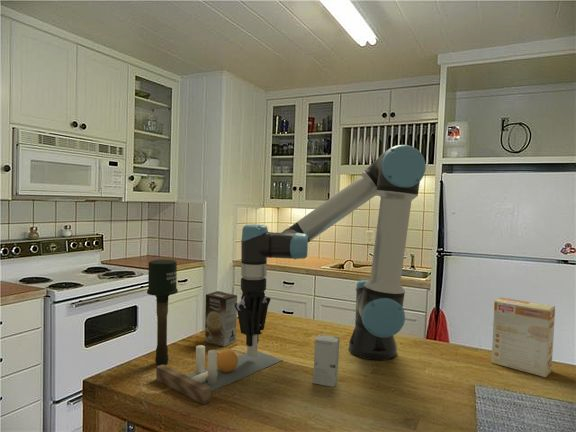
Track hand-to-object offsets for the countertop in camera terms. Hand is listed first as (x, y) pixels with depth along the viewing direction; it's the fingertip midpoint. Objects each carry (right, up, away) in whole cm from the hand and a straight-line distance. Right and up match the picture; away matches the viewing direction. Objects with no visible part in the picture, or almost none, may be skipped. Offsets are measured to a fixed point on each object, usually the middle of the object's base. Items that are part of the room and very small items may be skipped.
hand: (252, 355), depth 128 cm
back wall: (-16, -3, -19) cm, 25 cm away
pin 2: (-9, -3, -15) cm, 18 cm away
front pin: (-9, -1, -11) cm, 14 cm away
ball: (-6, +1, -7) cm, 10 cm away
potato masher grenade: (-26, -2, -3) cm, 26 cm away
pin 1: (-13, -2, -12) cm, 18 cm away
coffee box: (-12, -1, +17) cm, 21 cm away
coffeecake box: (+81, -4, +1) cm, 81 cm away
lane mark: (-5, -2, -6) cm, 8 cm away
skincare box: (+21, -3, -12) cm, 24 cm away
